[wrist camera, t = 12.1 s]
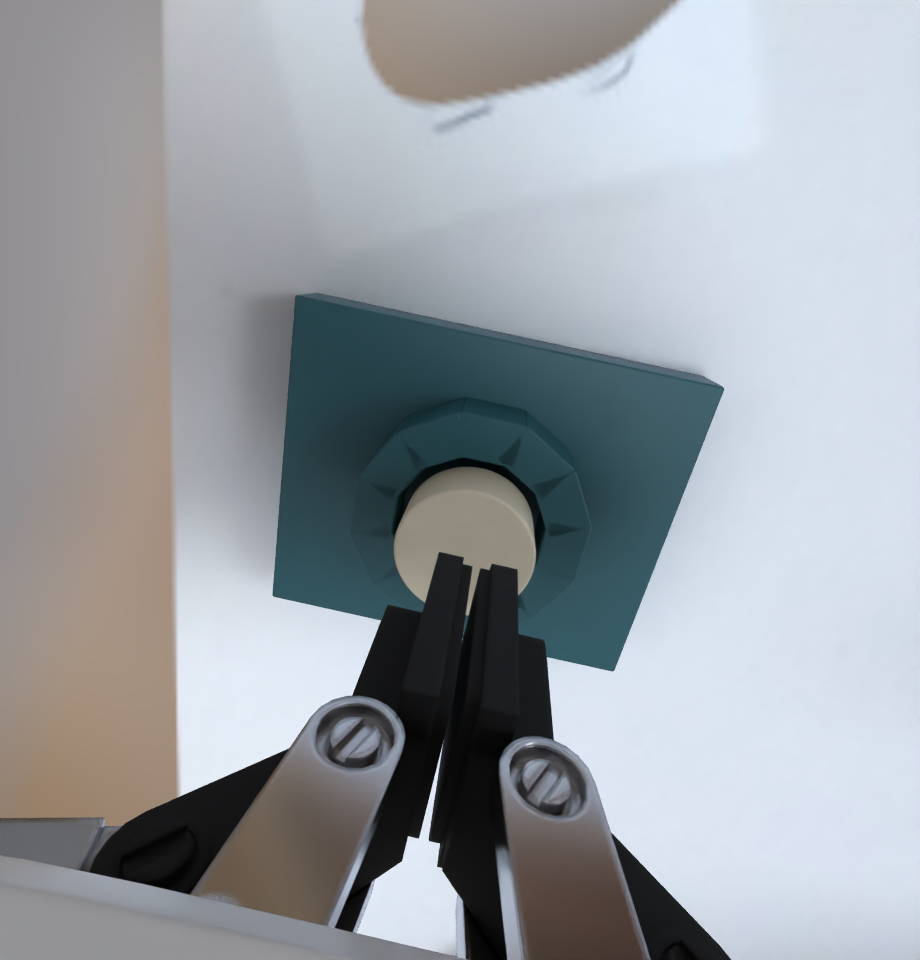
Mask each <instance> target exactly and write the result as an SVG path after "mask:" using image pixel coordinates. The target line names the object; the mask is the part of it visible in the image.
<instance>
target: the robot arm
mask: <svg viewBox="0 0 920 960" xmlns="http://www.w3.org/2000/svg"><path fill="white" fill-rule="evenodd" d="M463 561H464V557H460V556H456V555H452V554H447V553H443V552H439V553H438V557H437V561H436V564H435V568H434V572H433V575H432V579H431V583H430V586H429V590H428V594H427V597H426V601H425V605H424V608H423V612H419V611H415V610H410V609H406V608H401V607H397V606H393V605H388V606H387V608H386V610H385V612H384V615H383V617H382V620H381V623H380V625H379V628H378V630H377V633H376V636H375V638H374V641H373V643H372V646H371V649H370V651H369V654H368V656H367V659H366V661H365V664H364V667H363V669H362V672H361V674H360V677H359V680H358V682H357V685H356V687H355V690H354V692H353V695H352V696H345V697H341V698H338V699H334V700H332V701H330V702H328V703H326V704H325V705H323V706H321V707H320V708H319V709H318V710H317V711H316V712H315V713H314V714H313V715H312V716H311V717H310V719H309V720H308V722H307V723H306V725H305V726H304V728H303V729H302V731H301V732H300V734H299V735H298V737H297V738H296V739H295V741H294V742H293V744H292V745H291V747H290V748H289V749H287V750H285V751H282V752H280V753H278V754H276V755H273V756H271V757H269V758H267V759H264V760H262V761H260V762H257V763H255V764H253V765H251V766H248V767H246V768H244V769H242V770H239V771H237V772H235V773H232V774H230V775H228V776H226V777H223V778H221V779H219V780H217V781H214V782H212V783H210V784H208V785H205V786H203V787H201V788H198V789H196V790H194V791H192V792H189V793H187V794H185V795H183V796H180V797H178V798H176V799H173V800H171V801H169V802H167V803H164V804H162V805H160V806H158V807H155V808H153V809H151V810H148V811H146V812H144V813H143V814H141V815H139V816H138V817H136V818H134V819H132V820H130V821H129V822H127V823H125V824H124V825H123V826H105V818H0V960H731V959H730V958H729V957H728V955H727V954H726V953H725V952H724V950H723V949H722V948H721V947H720V946H719V944H718V943H717V942H716V941H715V940H714V939H713V938H712V937H711V936H710V935H709V934H708V933H707V932H706V931H705V930H704V929H703V928H702V927H701V926H700V925H699V924H698V923H697V922H696V921H695V919H694V918H693V917H692V916H691V915H690V914H689V913H688V912H687V911H686V910H685V909H684V908H683V907H682V906H681V905H680V904H679V903H678V902H677V901H676V900H675V899H674V898H673V897H672V895H671V894H670V893H669V892H668V891H667V890H666V889H665V888H664V887H663V886H662V885H661V884H660V883H659V882H658V881H657V880H656V879H655V878H654V877H653V876H652V875H651V874H650V873H649V871H648V870H647V869H646V868H645V867H644V866H643V865H642V864H641V863H640V862H639V861H638V860H637V859H636V858H635V857H634V856H633V855H632V854H631V853H630V852H629V851H628V850H627V849H626V847H625V846H624V845H623V844H622V843H621V842H620V841H619V840H618V839H617V838H616V837H615V836H614V835H613V834H612V833H611V831H610V828H609V825H608V822H607V819H606V816H605V812H604V809H603V806H602V803H601V800H600V796H599V793H598V790H597V787H596V784H595V781H594V779H593V777H592V775H591V773H590V771H589V768H588V767H587V766H586V765H585V764H584V762H583V761H582V760H581V759H580V757H579V756H578V755H576V754H575V753H574V752H573V751H571V750H570V749H569V748H568V747H566V746H564V745H562V744H560V743H558V742H556V741H554V738H553V726H552V715H551V703H550V691H549V679H548V668H547V656H546V646H545V641H544V640H543V639H538V638H534V637H530V636H525V635H521V634H519V633H518V570H517V569H514V568H510V567H505V566H501V565H496V564H491V567H490V570H487V569H483V568H480V571H479V575H478V579H477V583H476V587H475V591H474V595H473V599H472V603H471V607H470V612H469V616H468V620H467V624H466V628H465V632H464V636H463V630H464V623H465V616H466V609H467V602H468V595H469V588H470V582H471V575H472V567H473V566H469V565H465V564H463ZM462 637H463V640H462ZM443 740H444V741H443ZM442 744H443V748H442ZM441 748H442V755H441V761H440V768H439V774H438V781H437V787H436V794H435V800H434V807H433V814H432V820H431V827H430V834H429V841H432V842H436V843H440V849H439V857H438V864H437V867H441V868H443V869H442V871H443V872H444V874H445V875H446V877H447V878H448V880H449V881H450V883H451V884H452V886H453V887H454V889H455V890H456V892H457V893H458V895H457V902H456V912H455V913H456V939H457V957H454V956H450V955H446V954H442V953H438V952H433V951H429V950H425V949H421V948H416V947H412V946H408V945H404V944H399V943H395V942H391V941H387V940H383V939H378V938H374V937H370V936H366V935H361V934H357V930H358V928H359V925H360V923H361V920H362V917H363V915H364V912H365V909H366V907H367V904H368V901H369V899H370V896H371V894H372V890H373V885H374V881H375V879H376V878H378V877H379V876H381V875H382V874H384V873H385V872H387V871H388V870H389V869H391V868H392V867H394V866H395V865H397V864H398V863H400V862H401V861H402V859H403V854H404V850H405V846H406V842H407V838H408V836H410V837H414V838H419V835H420V832H421V828H422V824H423V820H424V816H425V812H426V808H427V804H428V800H429V796H430V792H431V788H432V784H433V780H434V776H435V772H436V768H437V764H438V760H439V756H440V752H441Z"/></svg>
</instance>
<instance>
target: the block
mask: <svg viewBox="0 0 920 960" xmlns="http://www.w3.org/2000/svg"><path fill="white" fill-rule="evenodd" d="M723 391H724V388H723V387H722V386H720V385H718V384H717V383H715V382H713V381H711V380H709V379H707V378H705V377H704V376H700V375H695V374H690V373H686V372H681V371H676V370H672V369H667V368H663V367H658V366H653V365H649V364H644V363H639V362H635V361H630V360H625V359H621V358H616V357H612V356H607V355H602V354H598V353H593V352H588V351H584V350H579V349H574V348H570V347H565V346H560V345H556V344H551V343H547V342H542V341H537V340H533V339H528V338H523V337H519V336H514V335H509V334H505V333H500V332H496V331H491V330H486V329H482V328H477V327H472V326H468V325H463V324H458V323H454V322H449V321H444V320H440V319H435V318H431V317H426V316H421V315H417V314H412V313H407V312H403V311H398V310H393V309H389V308H384V307H380V306H375V305H370V304H366V303H361V302H356V301H352V300H347V299H342V298H338V297H333V296H328V295H324V294H319V293H314V294H304V295H297V296H296V297H295V310H294V323H293V336H292V349H291V362H290V375H289V388H288V401H287V414H286V427H285V440H284V453H283V466H282V479H281V492H280V505H279V518H278V531H277V544H276V557H275V570H274V583H273V596H274V597H278V598H282V599H287V600H291V601H296V602H300V603H305V604H310V605H314V606H319V607H323V608H328V609H332V610H337V611H341V612H346V613H350V614H355V615H359V616H364V617H368V618H373V619H377V620H382V617H383V615H384V612H385V610H386V608H387V606H388V605H393V606H397V607H401V608H406V609H410V610H415V611H419V612H423V608H424V605H425V602H423V601H422V600H420V599H419V598H418V597H417V596H416V595H414V594H413V593H412V592H411V590H410V589H409V588H408V587H407V586H406V584H405V583H404V581H403V580H402V578H401V576H400V574H399V572H398V569H397V566H396V563H395V558H394V539H395V535H396V531H397V529H398V526H399V524H400V522H401V519H402V517H403V515H404V513H405V510H406V508H407V506H408V504H409V501H410V499H411V497H412V496H413V494H414V492H415V491H416V490H417V489H418V487H419V486H420V485H421V484H422V483H423V482H425V481H426V480H427V479H429V478H430V477H431V476H433V475H435V474H437V473H439V472H441V471H444V470H447V469H451V468H456V467H477V468H483V469H487V470H490V471H493V472H495V473H497V474H499V475H501V476H503V477H505V478H506V479H508V480H509V481H510V482H512V483H513V484H514V485H515V486H516V487H517V488H518V489H519V490H520V492H521V493H522V494H523V496H524V497H525V499H526V501H527V502H528V505H529V507H530V510H531V513H532V517H533V526H534V537H535V548H536V562H535V567H534V571H533V573H532V576H531V578H530V580H529V582H528V584H527V585H526V587H525V588H524V589H523V591H522V592H521V593H520V594H519V595H518V633H519V634H521V635H525V636H530V637H534V638H538V639H543V640H544V641H545V646H546V656H547V657H550V658H554V659H559V660H563V661H568V662H572V663H577V664H581V665H586V666H590V667H595V668H599V669H604V670H608V671H614V670H615V667H616V665H617V662H618V660H619V657H620V654H621V652H622V649H623V647H624V644H625V642H626V639H627V637H628V634H629V631H630V629H631V626H632V624H633V621H634V619H635V616H636V614H637V611H638V608H639V606H640V603H641V601H642V598H643V596H644V593H645V590H646V588H647V585H648V583H649V580H650V578H651V575H652V573H653V570H654V567H655V565H656V562H657V560H658V557H659V555H660V552H661V550H662V547H663V544H664V542H665V539H666V537H667V534H668V532H669V529H670V527H671V524H672V521H673V519H674V516H675V514H676V511H677V509H678V506H679V504H680V501H681V498H682V496H683V493H684V491H685V488H686V486H687V483H688V480H689V478H690V475H691V473H692V470H693V468H694V465H695V463H696V460H697V457H698V455H699V452H700V450H701V447H702V445H703V442H704V440H705V437H706V434H707V432H708V429H709V427H710V424H711V422H712V419H713V417H714V414H715V411H716V409H717V406H718V404H719V401H720V399H721V396H722V393H723ZM468 616H469V615H466V616H465V623H464V630H463V636H464V632H465V628H466V624H467V620H468ZM462 638H463V637H462Z"/></svg>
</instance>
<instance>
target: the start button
mask: <svg viewBox="0 0 920 960" xmlns="http://www.w3.org/2000/svg"><path fill="white" fill-rule="evenodd" d="M439 552H443V553H447V554H452V555H456V556H460V557H464V561H463V564H465V565H469V566H473V567H472V575H471V582H470V588H469V595H468V602H467V609H466V615H469V612H470V607H471V603H472V599H473V595H474V591H475V587H476V583H477V579H478V575H479V571H480V568H483V569H487V570H490V567H491V564H496V565H501V566H505V567H510V568H514V569H517V570H518V595H519V594H520V593H521V592H522V591H523V589H524V588H525V587H526V585H527V584H528V582H529V580H530V578H531V576H532V573H533V571H534V567H535V562H536V548H535V537H534V526H533V517H532V513H531V510H530V507H529V505H528V502H527V501H526V499H525V497H524V496H523V494H522V493H521V492H520V490H519V489H518V488H517V487H516V486H515V485H514V484H513V483H512V482H510V481H509V480H508V479H506V478H505V477H503V476H501V475H499V474H497V473H495V472H493V471H490V470H487V469H483V468H477V467H456V468H451V469H447V470H444V471H441V472H439V473H437V474H435V475H433V476H431V477H430V478H429V479H427V480H426V481H425V482H423V483H422V484H421V485H420V486H419V487H418V489H417V490H416V491H415V492H414V494H413V496H412V497H411V499H410V501H409V504H408V506H407V508H406V510H405V513H404V515H403V517H402V519H401V522H400V524H399V526H398V529H397V531H396V535H395V539H394V558H395V563H396V566H397V569H398V572H399V574H400V576H401V578H402V580H403V581H404V583H405V584H406V586H407V587H408V588H409V589H410V590H411V592H412V593H413V594H414V595H416V596H417V597H418V598H419V599H420V600H422V601H423V602H425V601H426V597H427V594H428V590H429V586H430V583H431V579H432V575H433V572H434V568H435V564H436V561H437V557H438V553H439Z"/></svg>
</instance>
